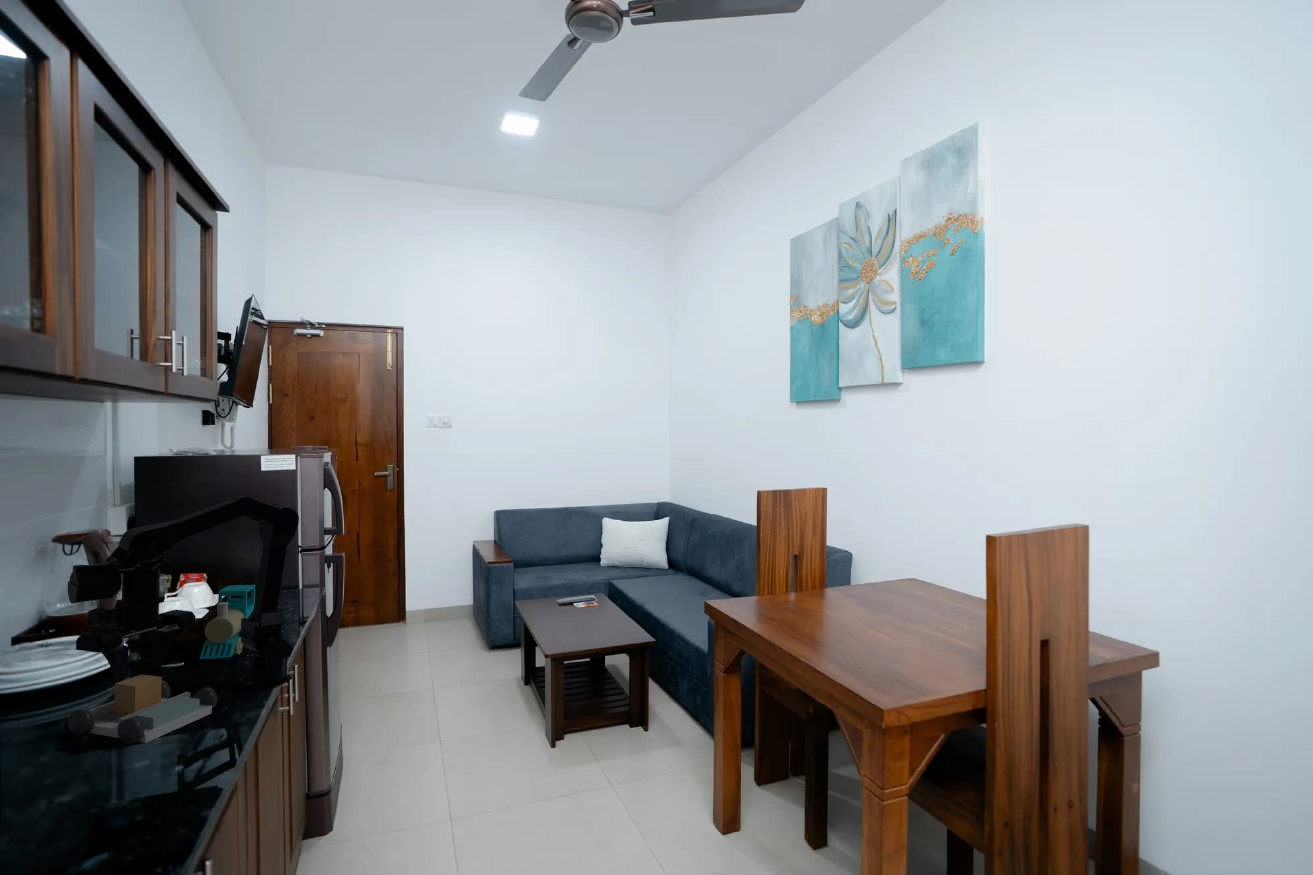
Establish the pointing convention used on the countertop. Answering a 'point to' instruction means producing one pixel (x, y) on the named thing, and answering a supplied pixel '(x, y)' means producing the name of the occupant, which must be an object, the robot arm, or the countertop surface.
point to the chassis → (144, 716)
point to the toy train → (228, 622)
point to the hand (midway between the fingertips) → (138, 673)
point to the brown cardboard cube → (137, 694)
